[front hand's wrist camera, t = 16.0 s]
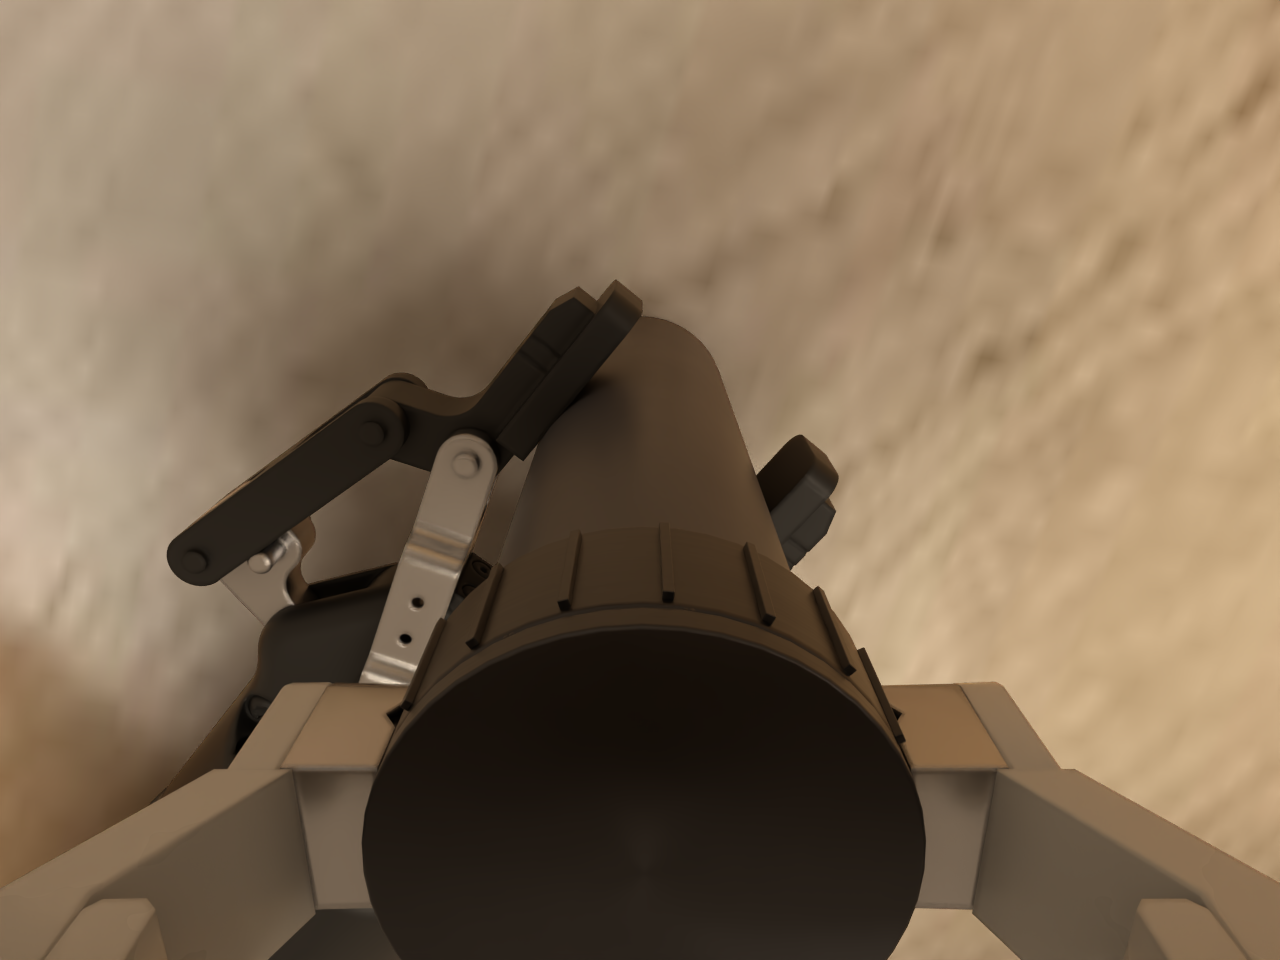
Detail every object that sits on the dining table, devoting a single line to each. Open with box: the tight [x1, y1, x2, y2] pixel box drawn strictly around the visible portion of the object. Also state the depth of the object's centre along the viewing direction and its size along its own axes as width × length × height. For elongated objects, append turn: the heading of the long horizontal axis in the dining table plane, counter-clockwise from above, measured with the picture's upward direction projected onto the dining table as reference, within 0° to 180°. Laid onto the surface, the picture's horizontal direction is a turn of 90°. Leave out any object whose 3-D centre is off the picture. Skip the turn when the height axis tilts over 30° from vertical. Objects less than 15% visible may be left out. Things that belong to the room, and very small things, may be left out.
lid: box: [361, 522, 926, 960], centre depth 9 cm, size 6×6×2 cm
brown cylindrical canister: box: [497, 317, 790, 571], centre depth 17 cm, size 4×4×16 cm
